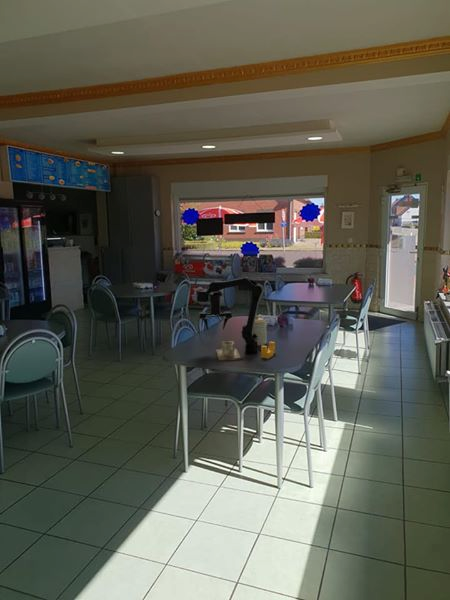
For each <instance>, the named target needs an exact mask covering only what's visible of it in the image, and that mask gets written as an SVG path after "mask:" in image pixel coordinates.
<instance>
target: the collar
mask: <svg viewBox="0 0 450 600" xmlns="http://www.w3.org/2000/svg"><path fill="white" fill-rule="evenodd" d="M221 349H222V354H223V355H234V349H235V342H234V341H232V340H230V341H229V340H228V341H227V340H226V341H221Z"/></svg>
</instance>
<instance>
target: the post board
mask: <svg viewBox="0 0 450 600" xmlns="http://www.w3.org/2000/svg"><path fill="white" fill-rule="evenodd" d="M215 352H216V356H217V360H218V361H241V359H242V357H241V355H240V352H239V351H238V349H237V348H234V355H223V354H222V348H221V349H215Z"/></svg>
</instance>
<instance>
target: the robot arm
mask: <svg viewBox="0 0 450 600" xmlns="http://www.w3.org/2000/svg"><path fill="white" fill-rule="evenodd" d="M239 286H245V287H246V288H247V289H248V290H250V291H251V304H250V308H249V312H248V318H247V320H248V321H247V320H246V323H247V324H246V323H245V324H244V325H243V326H242V327H241V328H242V331H241V332H240V334H241V338H242V339H244V341H245V342H244V352H245V354H249V355H250V354H251V355H252V354H259V352H258V346H257V341H256V340H257V339H258V336H257V335H256V334H255V333H254V329H255V328H254V322H255V318H256V315H257V313H258V308H259V304H260V301H261V298H262V297H263V295H264V292H265V286H264V285H263V284H261V283H258V282H256V281H254V280H253V279H251V278H250V277H248V276H247V277H241V278H236V279H231V280H226V281H225V280H223V281H222V280H215V281H212V282H210V283H209V285H208V289H207V290H206V291H205V290H198V291H197V297H196V302H197V303H203V304H207V303H209V305H207V306H206V311H205V312H204V311H203V312H202V311H199V313H198V319H199V320H202V321H203V323H204V324H205V327H206V330H207V331H208V330H209V327H208V326H209V325H208V318H213V317H214V318H215V317H217V318H219V317H220V318H221V317H223V321H222V322H223V323H222V330H225V327H226V324H227V322H228V321H229V320H230V319H231V318H233V314H232V312H231V311H224V312H223V313H222V312H221V297H223V296H224V293H223V292H222V290H224V289H227V288H233V287H239ZM218 291H219V292H218ZM207 312H209V313H207Z"/></svg>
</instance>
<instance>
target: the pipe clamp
mask: <svg viewBox="0 0 450 600" xmlns="http://www.w3.org/2000/svg"><path fill="white" fill-rule="evenodd" d="M260 346H261V348H260V355H261V356H260V358H263V359H270V358H272V357H273V356H274V354H275V353H276V341H269V342H268V346H267V345H260Z"/></svg>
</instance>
